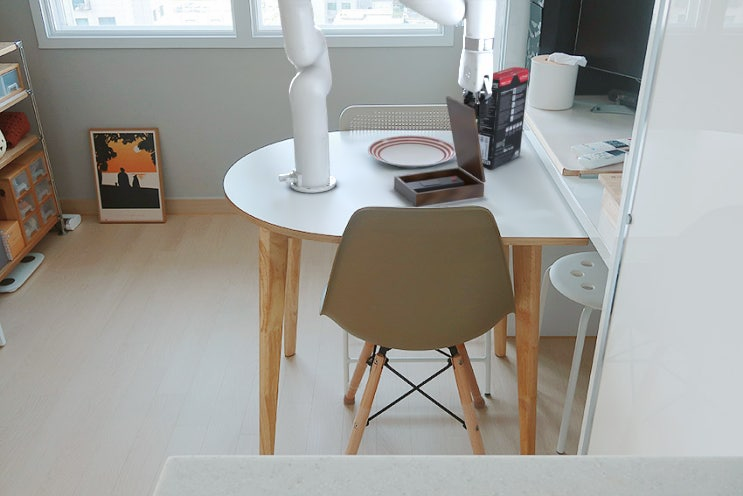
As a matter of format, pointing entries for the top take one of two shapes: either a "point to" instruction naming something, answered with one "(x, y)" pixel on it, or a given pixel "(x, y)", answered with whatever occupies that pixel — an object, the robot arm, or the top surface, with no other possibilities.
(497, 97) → the graphics card box
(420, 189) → the block
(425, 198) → the box
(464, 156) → the lid
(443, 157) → the dinner plate
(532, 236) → the top surface
